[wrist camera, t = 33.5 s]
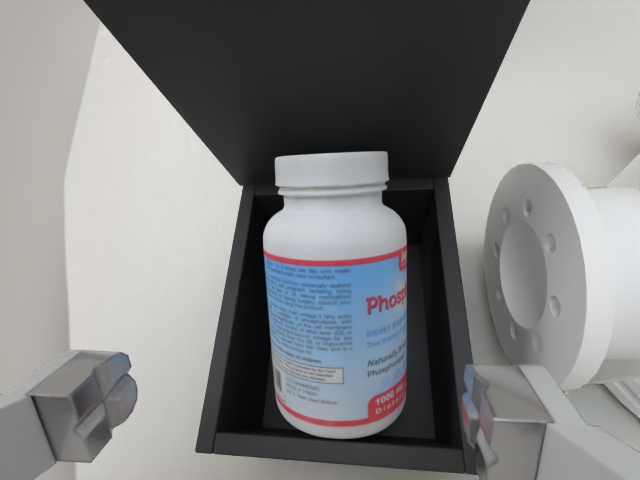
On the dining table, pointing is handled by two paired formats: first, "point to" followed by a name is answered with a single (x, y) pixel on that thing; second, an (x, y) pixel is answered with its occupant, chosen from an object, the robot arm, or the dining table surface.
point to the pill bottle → (337, 295)
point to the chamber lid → (321, 74)
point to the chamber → (422, 348)
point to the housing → (568, 275)
